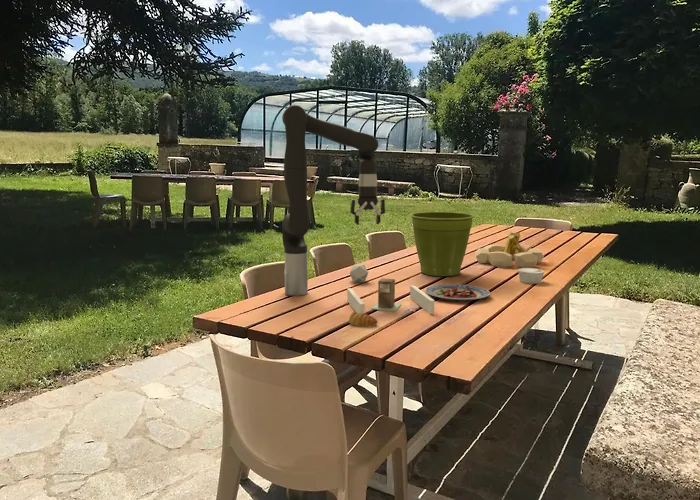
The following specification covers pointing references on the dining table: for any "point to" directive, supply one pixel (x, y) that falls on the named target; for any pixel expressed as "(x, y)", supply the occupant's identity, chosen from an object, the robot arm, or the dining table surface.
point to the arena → (415, 295)
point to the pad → (386, 308)
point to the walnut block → (386, 293)
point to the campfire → (509, 254)
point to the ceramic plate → (457, 292)
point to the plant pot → (441, 241)
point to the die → (358, 273)
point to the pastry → (362, 320)
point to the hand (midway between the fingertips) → (367, 224)
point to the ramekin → (530, 275)
